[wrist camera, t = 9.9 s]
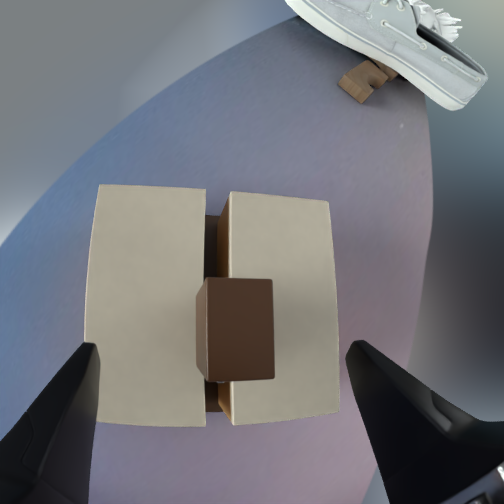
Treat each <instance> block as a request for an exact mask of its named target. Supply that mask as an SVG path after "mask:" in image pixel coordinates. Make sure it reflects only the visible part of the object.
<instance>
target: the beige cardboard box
mask: <svg viewBox="0 0 504 504" xmlns="http://www.w3.org/2000/svg"><path fill="white" fill-rule="evenodd" d="M205 203H206V189H195V188H179V187H160V186H138V185H106V184H100V186H99V191H98V196H97V202H96V208H95V214H94V221H93V228H92V235H91V243H90V252H89V261H88V272H87V285H86V301H85V334H84V342H91V343H95V344H96V346H97V349H98V353H99V357H100V363H101V366H100V381H99V400H98V411H97V418H96V422H104V423H114V424H125V425H140V426H162V427H205V426H206V417H205V412H224V413H225V414H226V415H227V417H228V418H229V420H230V421H231V422H232V424H233V425H247V424H258V423H269V422H278V421H286V420H293V419H301V418H307V417H314V416H320V415H325V414H331V413H336V412H339V337H338V313H337V294H336V279H335V265H334V253H333V242H332V231H331V222H330V212H329V204H328V201H321V200H313V199H305V198H296V197H287V196H277V195H267V194H257V193H246V192H235V191H231V193H230V195H229V197H228V199H227V202H226V204H225V206H224V209H223V211H222V214H221V216H212V215H205ZM207 277H222V278H257V279H272V281H273V305H274V346H275V378H274V379H270V380H254V381H232V382H224V383H217V382H208V381H207V380H206V379H205V378H204V376H203V375H202V373H201V372H200V370H199V369H198V368H197V366H196V295H197V293H198V291H199V290H200V288H201V286H202V284H203V283H204V281H205V279H206V278H207Z"/></svg>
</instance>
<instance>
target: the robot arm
mask: <svg viewBox="0 0 504 504" xmlns="http://www.w3.org/2000/svg"><path fill="white" fill-rule="evenodd" d="M345 360H346V365H347V369H348V373H349V377H350V381H351V385H352V389H353V393H354V396H355V399H356V402H357V405H358V408H359V411H360V414H361V417H362V419H363V422H364V425H365V428H366V431H367V434H368V437H369V440H370V443H371V446H372V449H373V452H374V455H375V458H376V461H377V464H378V467H379V470H380V473H381V476H382V480H383V482H384V486H385V490H386V493H387V496H388V499H389V503H390V504H504V421H500V422H486V421H481V420H479V419H476V418H474V417H473V416H471V415H469V414H468V413H466V412H465V411H463V410H461V409H460V408H458V407H456V406H454V405H453V404H451V403H450V402H448V401H447V400H445V399H444V398H442V397H441V396H440V395H438V394H437V393H435V392H434V391H433V390H430V388H429V387H427V386H426V385H424V384H423V383H422V382H420V381H419V380H418V379H416V378H415V377H414V376H412V375H411V374H409V373H408V372H407V371H405V370H404V369H403V368H401V367H400V366H399V365H397V364H396V363H394V362H393V361H392V360H390V359H389V358H388V357H386V356H385V355H384V354H382V353H381V352H380V351H378V350H377V349H375V348H374V347H373V346H371V345H370V344H369V343H367V342H366V341H364V340H356V341H354V342H353V343H352V344H351V346H350V348H349V350H348V352H347V354H346V358H345ZM100 366H101V363H100V357H99V353H98V349H97V346H96V344H95V343H91V342H84V343H82V344H81V346H80V347H79V348H78V349H77V350H76V351H75V352H74V354H73V355H72V356H71V357H70V358H69V359H68V361H67V362H66V363H65V364H64V365H63V366H62V368H61V369H60V370H59V371H58V372H57V374H56V375H55V376H54V377H53V378H52V380H51V381H50V382H49V383H48V384H47V386H46V387H45V388H44V389H43V391H42V392H41V393H40V394H39V395H38V397H37V398H36V399H35V400H34V402H33V403H32V404H31V405H30V407H29V408H28V409H27V412H25V413H24V414H23V416H22V417H21V418H20V419H19V421H18V422H17V423H16V424H15V425H14V427H13V428H12V429H11V430H10V431H9V432H8V433H7V435H6V436H5V437H4V438H3V439H2V440H1V441H0V504H88V497H89V481H90V468H91V458H92V449H93V440H94V432H95V425H96V418H97V411H98V400H99V381H100Z"/></svg>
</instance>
